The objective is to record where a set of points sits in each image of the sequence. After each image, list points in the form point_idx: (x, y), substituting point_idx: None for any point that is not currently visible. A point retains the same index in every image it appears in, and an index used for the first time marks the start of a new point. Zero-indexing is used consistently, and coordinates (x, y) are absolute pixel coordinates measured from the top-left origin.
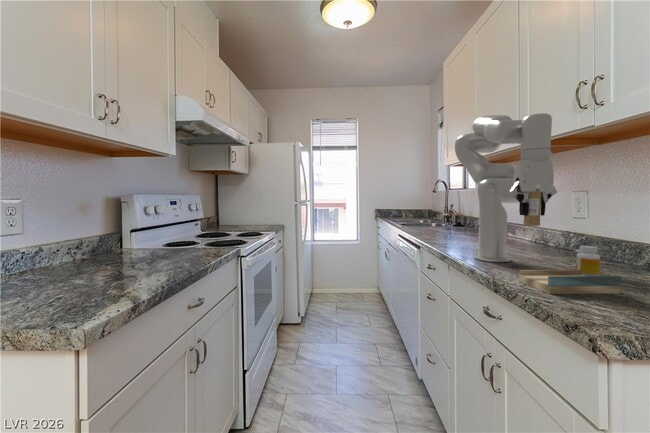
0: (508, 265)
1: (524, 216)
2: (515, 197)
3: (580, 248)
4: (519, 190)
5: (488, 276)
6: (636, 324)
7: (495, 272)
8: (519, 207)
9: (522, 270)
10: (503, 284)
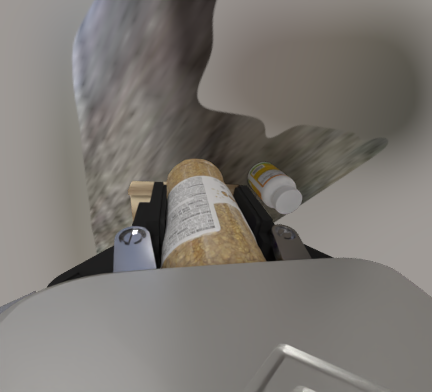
0: (199, 38)
1: (168, 194)
2: (68, 274)
3: (276, 195)
4: (131, 292)
5: (82, 146)
6: None
7: (116, 113)
8: (135, 215)
9: (132, 193)
10: (89, 198)
